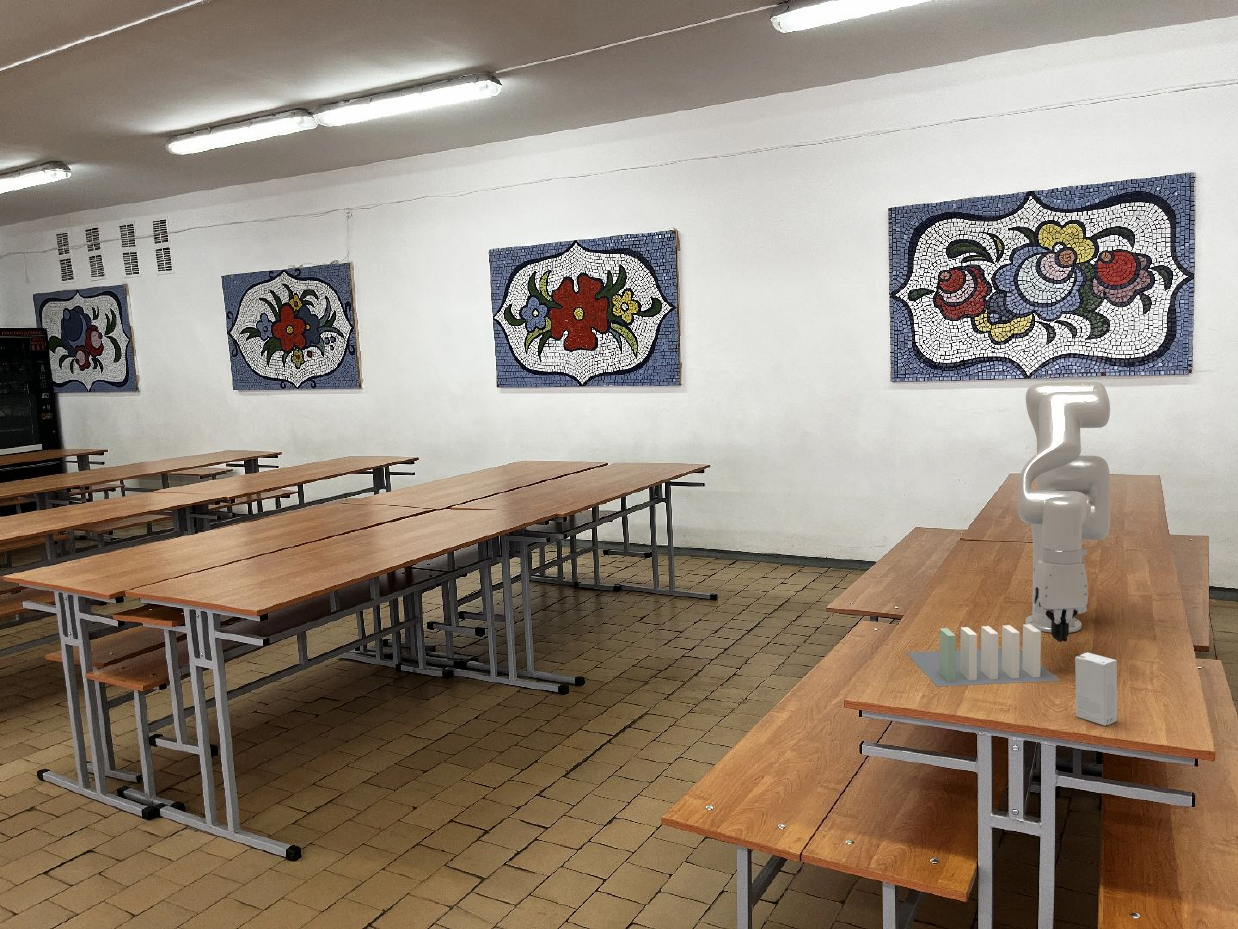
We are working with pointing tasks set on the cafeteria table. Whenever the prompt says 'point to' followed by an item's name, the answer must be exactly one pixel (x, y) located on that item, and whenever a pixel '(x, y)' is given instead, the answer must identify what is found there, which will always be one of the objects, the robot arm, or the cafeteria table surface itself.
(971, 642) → the domino
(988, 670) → the domino
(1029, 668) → the domino
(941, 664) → the domino end
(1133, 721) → the cafeteria table surface
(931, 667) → the slate mat
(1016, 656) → the domino
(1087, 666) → the skincare box
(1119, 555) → the cafeteria table surface
